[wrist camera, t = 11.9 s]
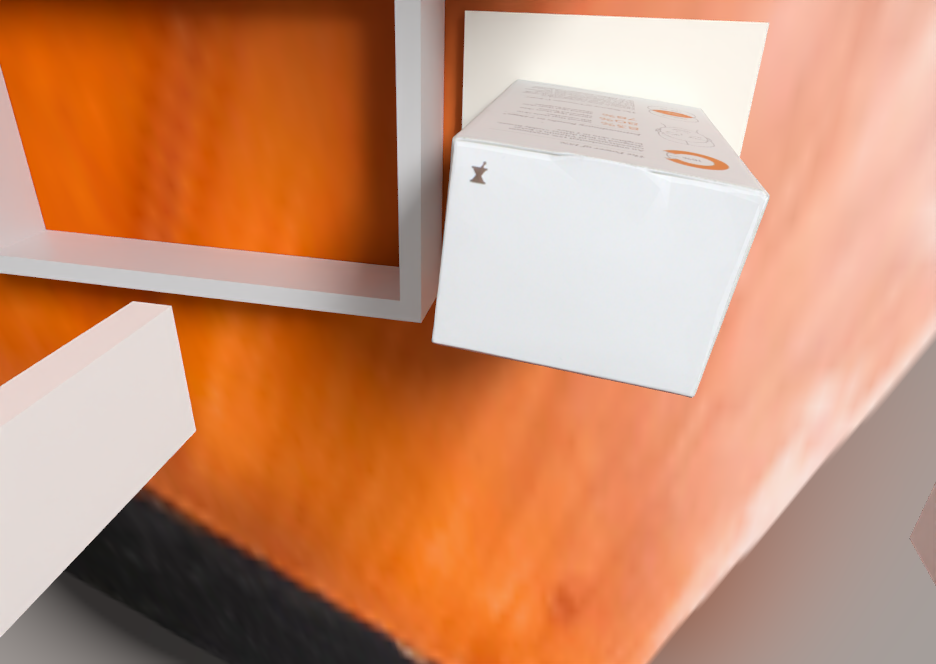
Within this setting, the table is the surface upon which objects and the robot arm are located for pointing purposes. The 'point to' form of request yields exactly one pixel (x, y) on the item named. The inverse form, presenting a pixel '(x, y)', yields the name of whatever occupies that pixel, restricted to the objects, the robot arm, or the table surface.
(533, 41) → the tile
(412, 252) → the bin
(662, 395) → the table surface
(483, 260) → the small box
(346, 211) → the table surface
